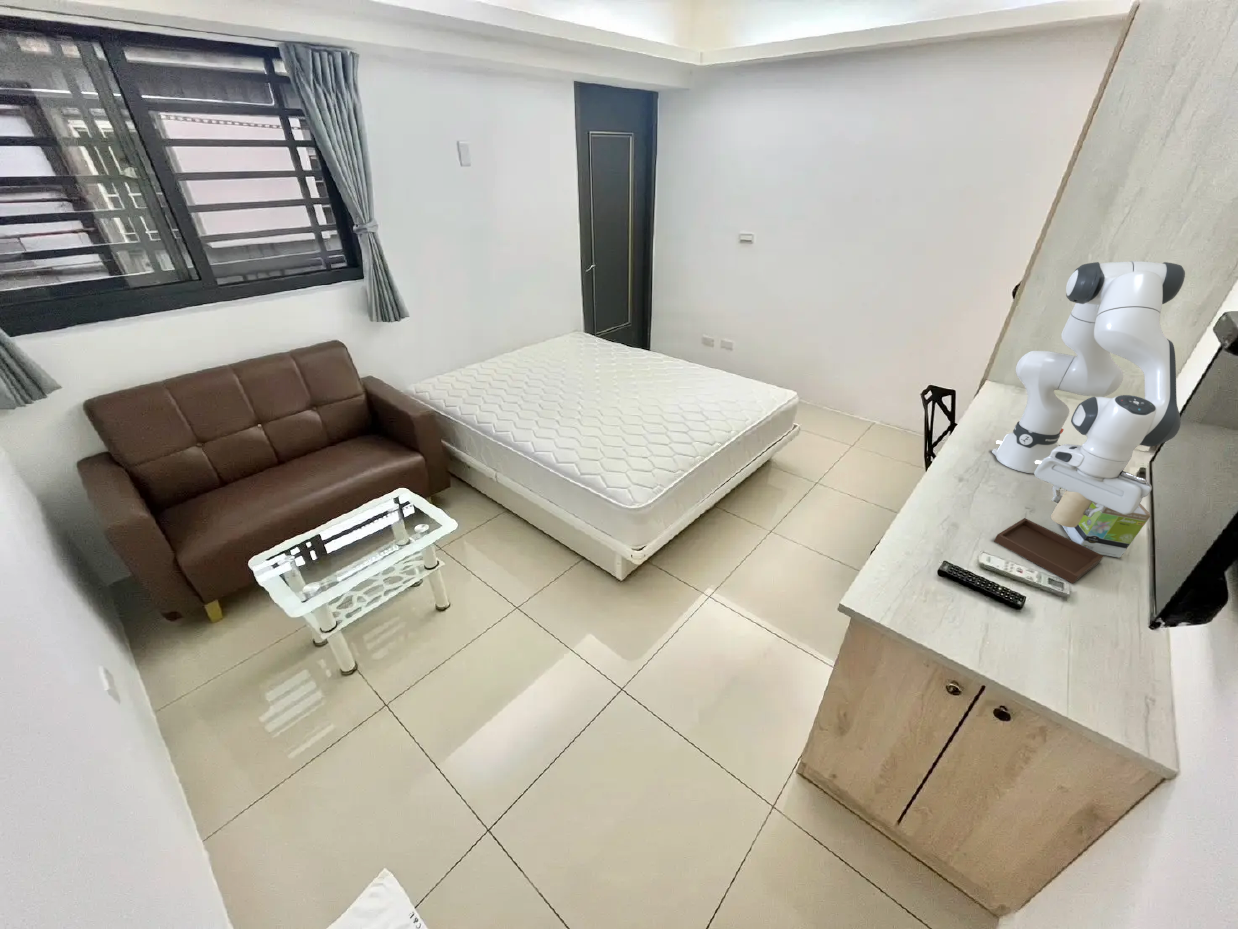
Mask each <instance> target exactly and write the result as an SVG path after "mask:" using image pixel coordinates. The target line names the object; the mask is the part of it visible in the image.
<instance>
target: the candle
mask: <svg viewBox="0 0 1238 929" xmlns="http://www.w3.org/2000/svg"><path fill="white" fill-rule="evenodd" d="M1092 502H1093V501H1091V500H1088V499H1086V498H1085V497H1084V496H1083V495H1081V494H1080V493H1078V492H1070V491H1067V490H1065V491H1064V493H1063V494H1062V498H1061V499H1060V501H1059V503H1057V504H1056V506H1055V508H1054V510H1053V512H1052V513H1051V515H1050V519H1051V520H1052V521H1053V523H1056V524H1057V525H1060V526H1062V527H1063V526H1066V527H1076V526H1077V525H1078V524H1079V522H1080V521H1081V519H1082V517H1083V516H1084V515H1083V514H1084V513H1085V511H1086V509H1088V508H1089V506H1090V505H1091V503H1092Z"/></svg>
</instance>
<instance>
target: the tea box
mask: <svg viewBox="0 0 1238 929" xmlns="http://www.w3.org/2000/svg"><path fill="white" fill-rule="evenodd" d="M1096 504H1097V503H1095V502H1092V503H1091V505H1090V506H1089V507H1090V508H1092V509H1094V508H1097V507H1096ZM1151 516H1152V515H1151V513H1150V512H1149V511H1148V510H1147V508H1145V507H1144V505H1142V504H1141V503H1140V504H1139V506H1138V508H1137V509H1136V510H1135V511H1134V512H1133V513H1131V514H1126V515H1124V514H1122V513H1119V512H1117V511H1114V510H1112V509H1110V508H1107V507H1105V508H1103V509H1102V510H1099V511H1097V512H1095V513H1094V515H1093V516H1092V517H1088V516H1085V515H1084V516H1083V517H1082V519H1081V521H1080V522H1079V524H1078V525H1077V526H1076V527H1066V526H1062V528H1063V529H1064V531H1065V532H1066V534H1067V536H1068V537H1069V540H1071V541H1074V542H1076V543H1078V544H1080V545H1082V546H1084V547H1086V548H1088V549H1090V550H1092V551H1094V552H1096V553H1098V554H1101V555H1103V556H1108V557H1112V558H1113V557H1114V558H1119V559H1120V558H1121V557H1122V556H1123V555H1124V553H1125V552H1126V551H1127V550H1128V547H1129V546H1130V545H1131V544H1132V543H1133V541H1134V540H1135V538H1136V537H1137V535H1138V534H1139V533H1140V532H1141V530H1142V529H1143V527H1144V526H1145V525H1146V524H1147V522H1148V521H1149V520H1150V518H1151Z"/></svg>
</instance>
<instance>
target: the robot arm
mask: <svg viewBox="0 0 1238 929" xmlns="http://www.w3.org/2000/svg"><path fill="white" fill-rule="evenodd" d="M1185 277H1186V270H1185V269H1184V267H1183V266H1182V265H1181V264H1178V263H1174V262H1168V261H1167V262H1166V261H1164V262H1156V261H1144V260H1129V261H1110V262H1099V261H1096V262H1089V263H1084V264H1081V265H1080V266H1078V267H1077V268H1076V269H1074V271H1073V272H1072V273H1071V275H1070V276H1069V278H1068V279H1067V282H1066V285H1065V296H1066V299H1068V301H1070V302H1071V303H1075V304H1074V306H1073V308H1072V310H1071V312H1070V314H1069V316H1068V318H1067V321H1066V322H1065V325H1064V327H1063V329H1062V331H1061V335H1060V337H1061V341H1062V342H1063V344H1064V345H1065V346H1066V347H1067V348H1069V349H1070V350H1072V351H1073V352H1074V353H1075V354H1076V355H1072V354H1066V353H1061V352H1056V351H1050V350H1030V351H1029V352H1026V353H1025V354H1024V355H1022V356H1021V357H1020V358H1019V360H1018V361H1017V363H1016V365H1015V374H1016V377H1017V378H1018V380H1019V381H1020V382H1021V384H1023V386H1024V389H1025V391H1026V395H1027V399H1026V404H1025V407H1024V410H1023V412H1022V415H1021V417H1020V420H1018V421H1017V423H1016V424H1015V425H1014V427H1013V430H1012V432H1009V433H1007V434H1005V435H1004V437H1003V440H996V441H995V442H996V443H995V444H999V447H996V448H993V449H992V450H991V453H992V454H993V455H994V456H995V457H996V460H997V461H998V462H999V463H1000V464H1001V465H1003V466H1006V467H1007V468H1009V469H1012V470H1015V471H1018V472H1021V473H1027V474H1034V477H1035V478H1036V479H1038V480H1040V481H1043V482H1045V483H1047V484H1051V485H1053V486H1052V487H1051V489H1052V494H1053V496H1052V498H1051V501H1052V502H1054V503H1057V504H1058V503H1059V501H1060V499H1061V498H1062V496H1063V494H1061V490H1065V491H1066V490H1067V491H1070V492H1078V493H1080V494H1081V495H1083V496H1084V497H1085V498H1086V499H1088V500H1091V501H1093V502H1095V503H1097V504H1096V507H1097V508H1094V509H1092V508H1090V507H1089V508H1088V509H1086V511H1085V513H1084V514H1083V515H1085V516H1088V517H1092V516H1093V515H1094V513H1095V512H1097V511H1099V510H1102V509H1103V508H1105V507H1107V508H1110V509H1112V510H1114V511H1117V512H1119V513H1122V514H1124V515H1126V514H1131V513H1133V512H1134V511H1135V510H1136V509H1137V508H1138V506H1139V504H1141V502H1142V500H1143V498H1146V497H1148V495H1150V493H1151V491H1152V490H1153V487H1152V484H1151V483H1150V482H1149V481H1148V480H1147V479H1146V478H1144V477H1140V476H1137V475H1135V474H1132V473H1130V472H1128V471H1124V470H1125V468H1126V467H1127V466H1128V464H1129V462H1130V461H1131V459H1132V457H1133V453H1134V451H1135V449H1136V448H1137V447H1139V445H1140V446H1144V447H1148V448H1151V447H1156V446H1158V445H1162V444H1164V443H1167V442H1168V441H1171V440H1172V439H1174V438H1175V437H1176V436H1177V434H1178V433H1179V431H1180V428H1181V425H1182V424H1181V422H1182V421H1181V414H1180V411H1179V406H1178V400H1177V363H1176V362H1177V361H1176V360H1177V359H1176V351H1175V345H1174V343H1173V342H1172V340H1170V339H1169V338H1167V336H1165V334H1164V331H1163V329H1162V327H1161V322H1160V320H1161V319H1160V318H1161V314H1162V308H1163V305H1164V304H1167V303H1168V302H1170V301H1172V300H1173V299H1175V297H1176V296H1177V295H1178V294H1179V292H1180V290H1182V287H1183V286H1184V283H1185ZM1111 354H1112V355H1115V356H1118V357H1120V358H1122V359H1125V360H1127V361H1129V362H1130V363H1133V364H1134V365H1136V366H1137V367H1138V368H1139V369H1140V370H1141V371H1142V373H1143V377H1144V380H1143V381H1144V397H1140V396H1137V395H1131V394H1123V395H1121V394H1120V395H1117V396H1114V397H1108V396H1110V395H1112V394H1113V393H1115V392H1116V391H1117V390H1119V388H1120V387H1121V385H1122V383H1123V380H1124V372H1123V370H1122V368H1121V367H1120V365H1118V364H1117V363H1116V362H1115V361H1114V358H1113V356H1112V355H1111ZM1055 391H1060V392H1065V393H1068V394H1069V393H1070V394H1074V395H1079V396H1082V397H1088V398H1086V399H1084V400H1082V401H1081V402H1080V403H1078V405H1077V406H1076V407H1075V409H1074V411H1073V414H1072V416H1071V418H1070V419H1071V420H1070V423H1071V425H1072V426H1073V428H1074V429H1075V430H1076V431H1077V432H1078V433H1079V434H1081V435H1082V436H1086V437H1087V438H1086V441H1084V442H1083V443H1082V445H1079V444H1070V443H1064V444H1059V443H1058V441H1059V439H1060V438H1061V434H1063V432H1064V430H1065V429H1064V428H1063V427H1064V425H1065V423H1066V421H1067V419H1068V417H1069V416H1070V408H1069V406H1068V404H1066V403H1065V401H1063V400H1062V399H1061V398H1059V397H1058V395H1056V393H1055Z"/></svg>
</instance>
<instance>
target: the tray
mask: <svg viewBox="0 0 1238 929" xmlns="http://www.w3.org/2000/svg"><path fill="white" fill-rule="evenodd" d="M993 542H994V543H995V544H997V545H1000V546H1001V547H1004V548H1005V549H1007V550H1008V551H1011V552H1013V553H1015V554H1017V555H1018V556H1020V557H1022V558H1024V559H1026V560H1028V561H1030V562H1031V563H1033V564H1035V565H1037V566H1039V567H1041V568H1042V569H1044V570H1046V571H1048V572H1050V573H1052V574H1053V575H1056V576H1057V577H1059V578H1061V579H1063V580H1065V581H1067V582H1069V583H1071V584H1074V583H1076V582H1077V581H1078V580H1079V579H1081V578H1082V577H1083V576H1084V575H1086V574H1087V573H1088V572H1090V571H1091V570H1092V569H1093V568H1095V567H1096V566H1097V565H1098V564H1100V562H1101V561H1102V559H1103V558H1104V555H1102V554H1098V553H1096V552H1094V551H1092V550H1090V549H1088V548H1086V547H1084V546H1082V545H1080V544H1078V543H1076V542H1074V541H1072V540H1071V539H1070V538H1068V537H1065V536H1063V535H1061V534H1059V533H1057V532H1055V531H1053V530H1051V529H1048V528H1047V527H1044V526H1042V525H1040V524H1038V523H1037V522H1034V521H1033V520H1030V519H1028V518H1026V517H1023V518H1022V519H1020V520H1019V521H1017V522H1015V523H1013V524H1012V525H1011V526H1009V527H1007V528H1006V529H1004V530H1002V531H1000V532H999V533H997V534H996V536H995V538H994V540H993Z"/></svg>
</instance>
